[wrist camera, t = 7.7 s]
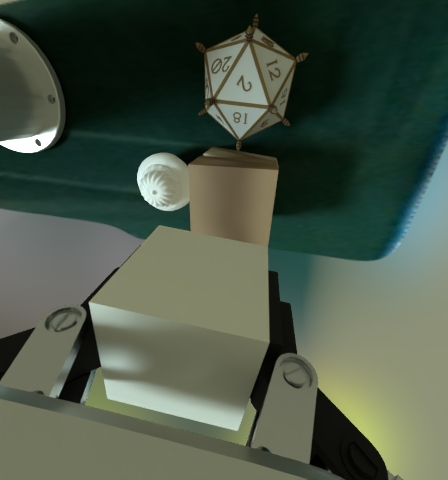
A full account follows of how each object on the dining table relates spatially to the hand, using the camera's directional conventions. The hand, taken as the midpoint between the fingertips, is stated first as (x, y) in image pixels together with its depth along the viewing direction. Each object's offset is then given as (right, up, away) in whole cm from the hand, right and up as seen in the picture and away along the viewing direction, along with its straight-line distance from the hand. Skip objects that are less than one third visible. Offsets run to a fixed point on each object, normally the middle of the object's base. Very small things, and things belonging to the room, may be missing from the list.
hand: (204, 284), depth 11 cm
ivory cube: (0, 0, 0) cm, 1 cm away
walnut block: (+2, +7, +12) cm, 14 cm away
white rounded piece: (-5, +10, +17) cm, 20 cm away
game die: (+3, +17, +12) cm, 21 cm away
